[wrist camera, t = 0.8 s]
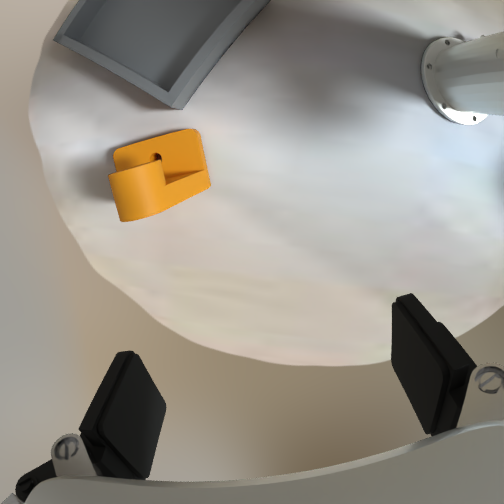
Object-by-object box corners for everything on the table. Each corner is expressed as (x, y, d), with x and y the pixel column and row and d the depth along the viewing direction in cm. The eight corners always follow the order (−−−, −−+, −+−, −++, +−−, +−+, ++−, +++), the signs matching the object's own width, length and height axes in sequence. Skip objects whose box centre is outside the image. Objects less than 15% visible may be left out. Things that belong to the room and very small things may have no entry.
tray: (150, -53, 25) (138, -68, 20) (270, 0, 29) (271, -17, 24) (72, 46, 30) (52, 40, 26) (182, 109, 34) (170, 107, 30)
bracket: (199, 127, 35) (172, 126, 24) (212, 184, 38) (190, 208, 27) (120, 148, 36) (70, 160, 25) (133, 201, 39) (89, 231, 28)
